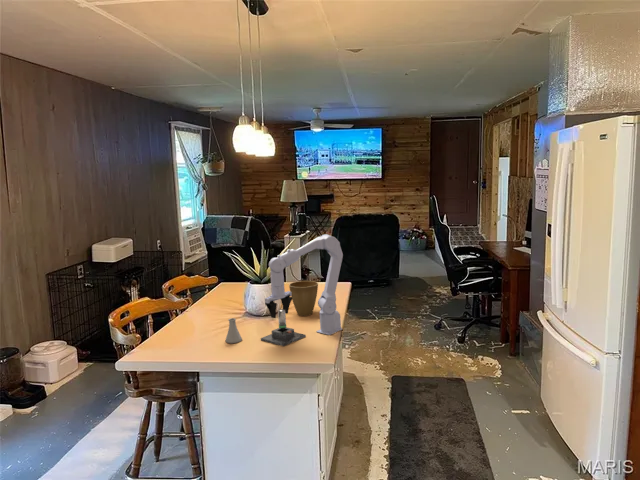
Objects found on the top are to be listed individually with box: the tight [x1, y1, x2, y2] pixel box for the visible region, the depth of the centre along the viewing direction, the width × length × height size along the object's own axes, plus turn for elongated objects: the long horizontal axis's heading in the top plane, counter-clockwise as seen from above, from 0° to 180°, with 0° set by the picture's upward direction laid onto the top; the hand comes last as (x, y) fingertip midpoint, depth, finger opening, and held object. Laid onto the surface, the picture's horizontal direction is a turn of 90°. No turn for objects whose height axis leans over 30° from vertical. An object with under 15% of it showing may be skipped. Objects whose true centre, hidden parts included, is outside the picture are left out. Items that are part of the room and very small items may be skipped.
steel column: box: [277, 308, 287, 329], centre depth 212 cm, size 3×3×8 cm
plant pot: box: [288, 280, 319, 317], centre depth 248 cm, size 15×15×16 cm
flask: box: [225, 317, 243, 344], centre depth 214 cm, size 7×7×10 cm
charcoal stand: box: [260, 326, 307, 347], centre depth 213 cm, size 14×14×4 cm
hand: (279, 315), depth 213 cm, fingers open, 7 cm apart
